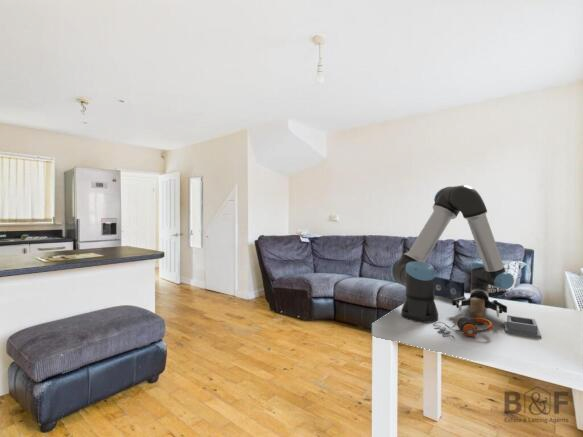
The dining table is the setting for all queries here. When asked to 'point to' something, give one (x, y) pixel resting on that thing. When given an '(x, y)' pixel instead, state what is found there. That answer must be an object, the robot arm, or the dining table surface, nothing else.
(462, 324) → the headphones
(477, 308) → the walnut cylinder
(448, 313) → the dining table surface
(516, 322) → the grey square tray
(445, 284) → the vhs cassette tape
